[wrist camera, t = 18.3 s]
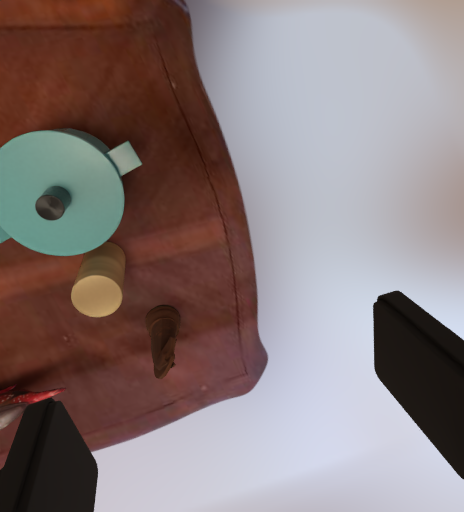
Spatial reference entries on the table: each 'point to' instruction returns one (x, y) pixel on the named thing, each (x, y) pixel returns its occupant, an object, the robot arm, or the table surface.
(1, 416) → the decorative bird figurine
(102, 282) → the cylinder
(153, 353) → the chess piece
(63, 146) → the pot lid
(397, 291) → the robot arm
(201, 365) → the table surface
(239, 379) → the table surface
